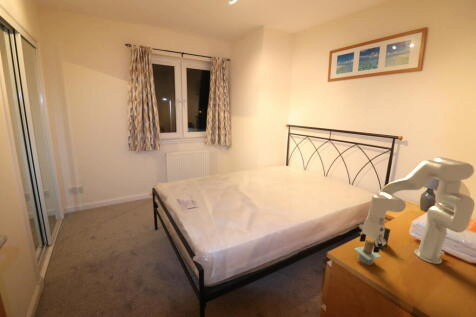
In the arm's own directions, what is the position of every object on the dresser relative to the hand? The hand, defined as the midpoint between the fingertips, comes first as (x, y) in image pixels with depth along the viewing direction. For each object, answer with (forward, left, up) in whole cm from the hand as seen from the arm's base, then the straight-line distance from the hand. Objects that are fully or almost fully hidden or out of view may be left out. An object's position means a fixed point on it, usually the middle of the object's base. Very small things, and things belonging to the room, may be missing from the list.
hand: (368, 246), depth 123 cm
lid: (0, 0, -4) cm, 4 cm away
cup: (0, 0, -9) cm, 9 cm away
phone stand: (-22, -12, -9) cm, 27 cm away
